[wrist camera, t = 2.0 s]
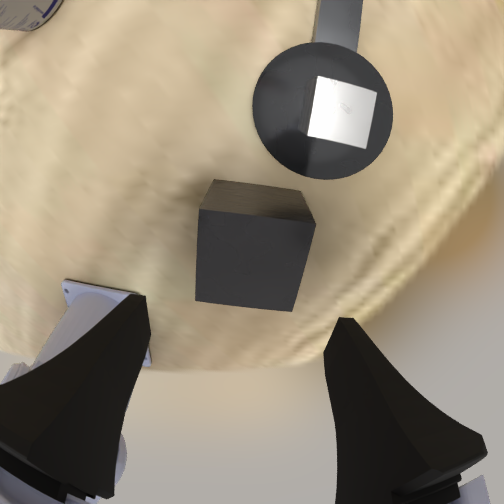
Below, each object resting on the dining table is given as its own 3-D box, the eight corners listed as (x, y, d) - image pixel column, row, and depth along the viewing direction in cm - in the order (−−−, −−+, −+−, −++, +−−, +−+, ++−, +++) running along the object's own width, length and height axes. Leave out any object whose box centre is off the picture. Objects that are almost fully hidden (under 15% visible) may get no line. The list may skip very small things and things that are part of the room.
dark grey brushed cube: (284, 264, 20) (292, 311, 16) (207, 254, 20) (195, 300, 15) (300, 191, 17) (316, 224, 13) (214, 179, 17) (199, 208, 13)
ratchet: (367, 183, 17) (397, 210, 13) (244, 162, 16) (240, 182, 13) (398, -55, 7) (426, -77, 3) (285, -87, 7) (291, -121, 3)
